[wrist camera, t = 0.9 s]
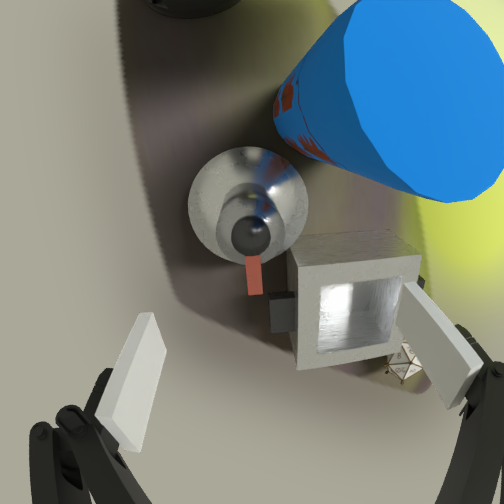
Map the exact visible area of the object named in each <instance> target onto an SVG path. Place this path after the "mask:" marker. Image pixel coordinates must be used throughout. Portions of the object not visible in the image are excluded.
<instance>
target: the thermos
mask: <svg viewBox="0 0 504 504" xmlns="http://www.w3.org/2000/svg"><path fill="white" fill-rule="evenodd" d="M273 121H274V123H275V126H276V129H277V131H278V134H279V135H280V136H281V137H282V139H283V140H284V141H285V142H286V143H287V145H289V146H290V147H292V148H294V149H295V150H297V151H299V152H300V153H302V154H304V155H305V156H307V157H310V158H313V159H316V160H319V161H322V162H325V163H328V164H331V165H334V166H337V167H340V168H343V169H345V170H348V171H351V172H354V173H356V174H359V175H362V176H364V177H367V178H369V179H372V180H374V181H377V182H379V183H382V184H384V185H387V186H389V187H392V188H394V189H397V190H400V191H404V192H407V193H410V194H413V195H416V196H419V197H423V198H426V199H431V200H435V201H440V202H444V203H451V202H457V201H465V200H472V199H474V198H475V197H477V196H478V195H480V194H481V193H482V192H484V191H485V190H487V189H488V188H489V187H491V186H492V185H493V184H494V183H495V181H496V180H497V178H498V176H499V175H500V173H501V172H502V170H503V168H504V64H503V62H502V60H501V58H500V56H499V54H498V52H497V51H496V49H495V47H494V45H493V43H492V42H491V40H490V38H489V37H488V35H487V34H486V33H485V32H484V31H483V30H482V28H481V27H480V26H479V25H478V24H477V23H476V21H475V20H474V19H473V18H472V17H471V16H470V15H469V14H468V13H467V12H466V11H465V10H464V9H462V8H461V7H459V6H458V5H457V4H455V3H453V2H452V1H451V0H358V1H357V2H355V3H354V4H353V5H351V6H350V7H349V8H348V9H347V10H345V11H344V12H343V13H342V14H341V15H339V16H338V17H337V18H336V19H335V21H334V22H333V23H332V24H331V25H330V26H329V27H328V29H327V30H326V31H325V32H324V33H323V34H322V36H321V37H320V38H319V39H318V40H317V41H316V43H315V44H314V45H313V46H312V47H311V49H310V50H309V51H308V52H307V54H306V55H305V56H304V57H303V58H302V60H301V61H300V62H299V63H298V65H297V66H296V67H295V68H294V70H293V71H292V72H291V74H290V75H289V76H288V77H287V79H286V80H285V81H284V83H283V84H282V85H281V87H280V89H279V92H278V94H277V97H276V99H275V102H274V105H273Z"/></svg>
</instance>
